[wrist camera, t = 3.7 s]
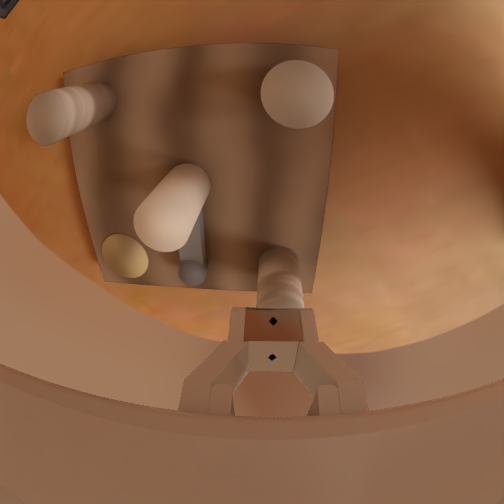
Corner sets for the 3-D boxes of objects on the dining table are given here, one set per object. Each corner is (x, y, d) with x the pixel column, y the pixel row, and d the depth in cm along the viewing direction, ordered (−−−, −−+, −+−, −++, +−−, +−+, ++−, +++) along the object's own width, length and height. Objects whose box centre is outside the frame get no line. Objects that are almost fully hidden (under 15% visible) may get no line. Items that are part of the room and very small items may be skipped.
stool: (330, 52, 19) (369, 38, 11) (308, 274, 31) (319, 348, 23) (81, 70, 20) (6, 82, 11) (115, 265, 32) (77, 327, 24)
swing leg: (216, 272, 28) (203, 329, 22) (179, 271, 28) (158, 325, 22) (209, 162, 22) (186, 198, 16) (165, 163, 22) (128, 199, 16)
